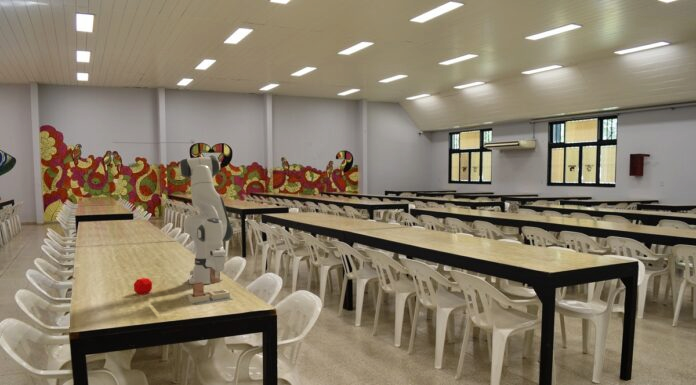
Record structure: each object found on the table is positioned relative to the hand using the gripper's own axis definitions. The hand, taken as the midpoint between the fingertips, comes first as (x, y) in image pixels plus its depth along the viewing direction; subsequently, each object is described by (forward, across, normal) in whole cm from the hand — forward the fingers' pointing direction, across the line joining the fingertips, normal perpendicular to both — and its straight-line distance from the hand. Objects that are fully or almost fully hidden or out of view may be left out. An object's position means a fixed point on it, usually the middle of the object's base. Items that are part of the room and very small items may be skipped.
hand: (214, 276), depth 252 cm
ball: (+10, -23, -31) cm, 40 cm away
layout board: (+8, +15, -7) cm, 18 cm away
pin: (+7, +15, -12) cm, 20 cm away
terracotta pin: (+3, 0, 0) cm, 3 cm away
